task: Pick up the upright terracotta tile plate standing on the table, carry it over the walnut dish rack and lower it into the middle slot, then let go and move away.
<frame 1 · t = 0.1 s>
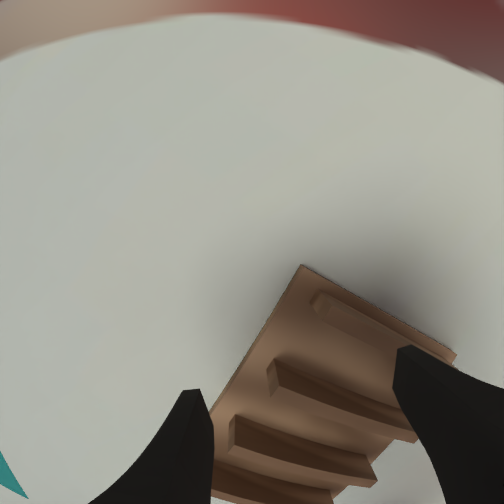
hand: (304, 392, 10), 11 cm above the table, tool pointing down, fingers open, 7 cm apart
dish rack: (321, 413, 22), on the table
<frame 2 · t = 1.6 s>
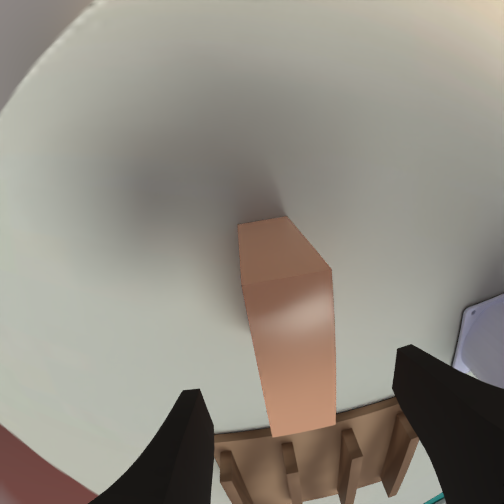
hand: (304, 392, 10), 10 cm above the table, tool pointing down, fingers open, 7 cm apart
dish rack: (316, 463, 27), on the table
tile plate: (271, 281, 20), on the table
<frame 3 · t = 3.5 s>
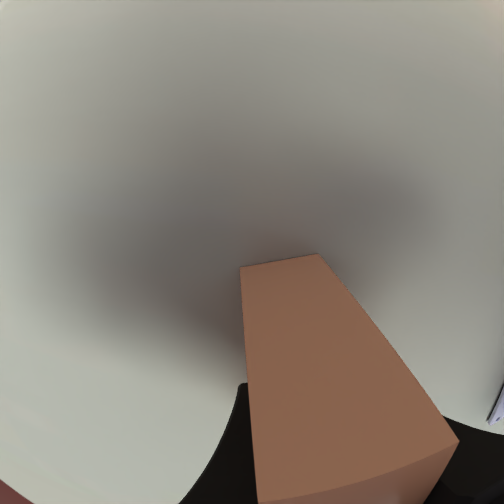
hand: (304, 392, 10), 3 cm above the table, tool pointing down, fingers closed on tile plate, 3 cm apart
tile plate: (291, 347, 13), on the table, touching gripper
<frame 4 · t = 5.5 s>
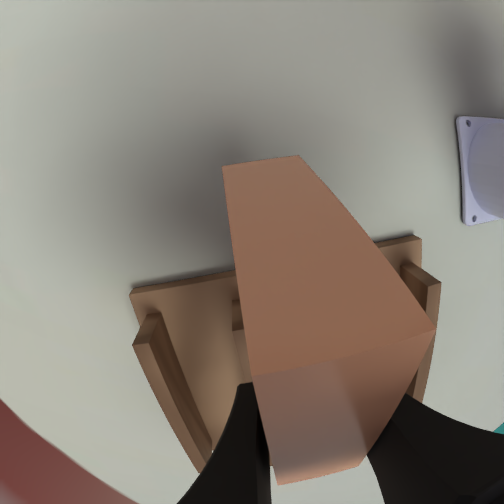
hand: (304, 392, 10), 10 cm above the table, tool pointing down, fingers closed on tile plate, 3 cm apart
dish rack: (294, 363, 22), on the table
tile plate: (269, 246, 14), point 5 cm above the table, tilted 17°, touching dish rack, gripper
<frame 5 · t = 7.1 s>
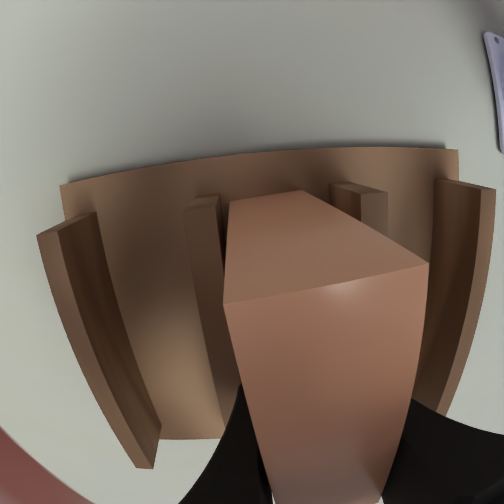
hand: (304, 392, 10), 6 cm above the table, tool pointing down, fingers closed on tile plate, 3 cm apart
dish rack: (282, 316, 15), on the table
tile plate: (279, 285, 14), point 1 cm above the table, touching dish rack, gripper
when the fingers open (6 cm above the table, at t = 7.7 s): tile plate stays where it is, resting on dish rack.
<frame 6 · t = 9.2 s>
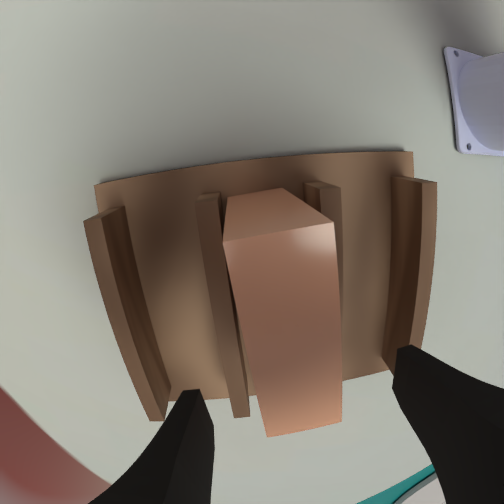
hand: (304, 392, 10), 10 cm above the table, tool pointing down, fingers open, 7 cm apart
place mat: (438, 481, 35), on the table
dish rack: (270, 288, 20), on the table
tile plate: (266, 261, 18), point 1 cm above the table, touching dish rack
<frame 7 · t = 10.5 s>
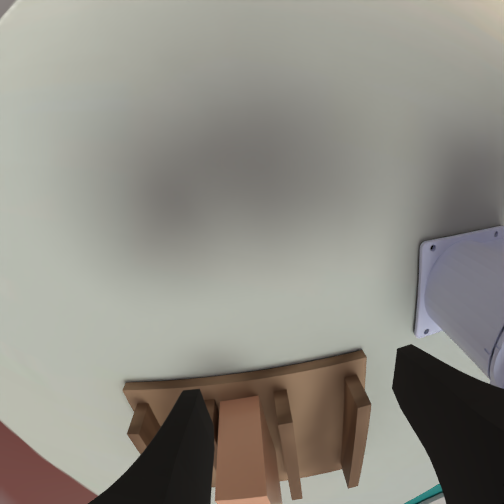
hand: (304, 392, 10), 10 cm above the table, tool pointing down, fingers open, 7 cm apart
dish rack: (256, 435, 25), on the table
tile plate: (250, 429, 23), point 1 cm above the table, touching dish rack
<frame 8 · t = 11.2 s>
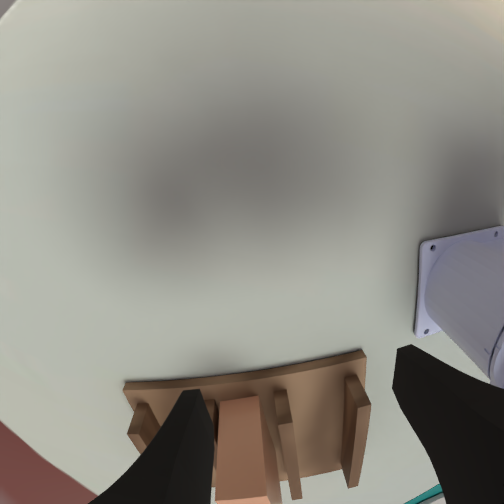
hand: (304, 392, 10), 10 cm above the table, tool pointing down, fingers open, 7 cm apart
dish rack: (256, 435, 25), on the table
tile plate: (250, 429, 23), point 1 cm above the table, touching dish rack
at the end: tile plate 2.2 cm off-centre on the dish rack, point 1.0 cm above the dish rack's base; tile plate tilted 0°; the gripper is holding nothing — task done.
